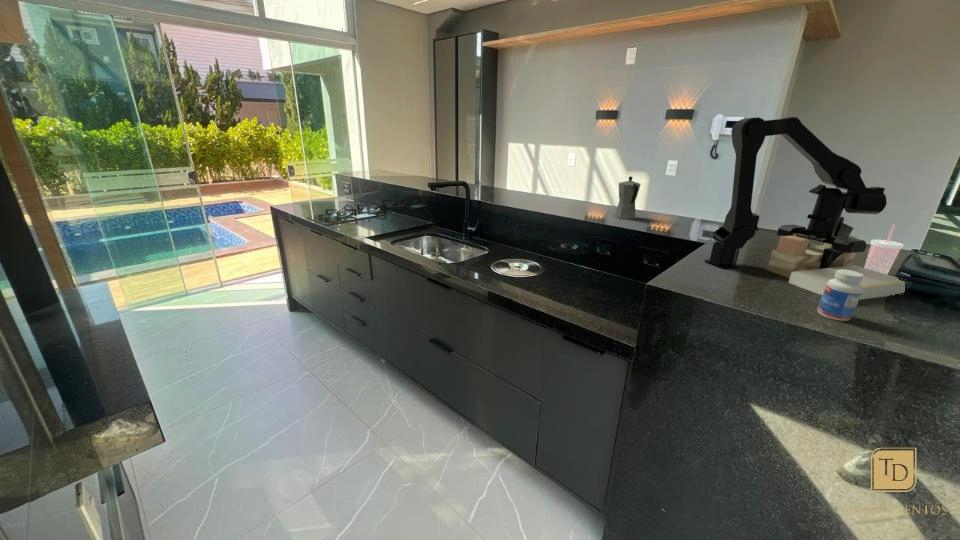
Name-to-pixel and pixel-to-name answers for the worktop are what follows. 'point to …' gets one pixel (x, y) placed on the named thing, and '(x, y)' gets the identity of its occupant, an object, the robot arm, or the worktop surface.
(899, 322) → the worktop surface
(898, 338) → the worktop surface
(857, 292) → the pill bottle
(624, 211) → the coffeepot
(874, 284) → the dock
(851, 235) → the pale green cube
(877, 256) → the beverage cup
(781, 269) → the brown long block
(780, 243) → the salmon pink cube
